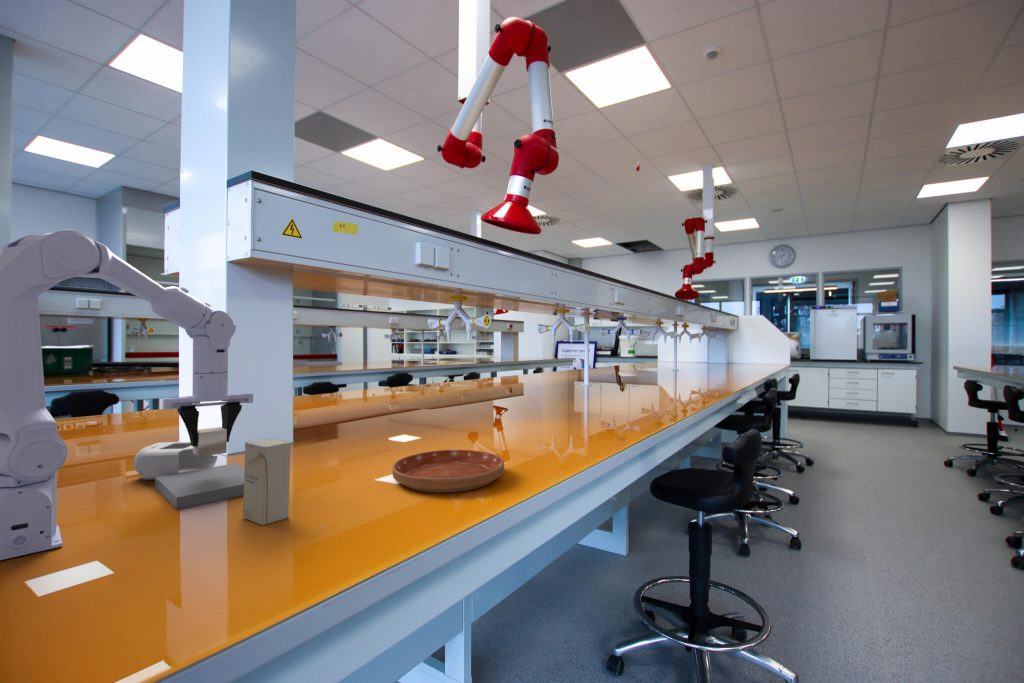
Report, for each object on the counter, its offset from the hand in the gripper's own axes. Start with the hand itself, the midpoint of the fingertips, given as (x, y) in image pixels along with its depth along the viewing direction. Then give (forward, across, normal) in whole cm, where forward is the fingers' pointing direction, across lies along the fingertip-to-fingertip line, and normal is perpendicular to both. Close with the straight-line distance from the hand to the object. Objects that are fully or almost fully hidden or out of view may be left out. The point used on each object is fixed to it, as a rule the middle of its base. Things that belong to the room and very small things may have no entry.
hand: (210, 443), depth 89 cm
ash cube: (+2, 0, 0) cm, 2 cm away
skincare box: (+9, -2, +24) cm, 26 cm away
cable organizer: (+9, +2, -16) cm, 19 cm away
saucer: (+9, -36, +28) cm, 47 cm away
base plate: (+9, 0, 0) cm, 9 cm away
